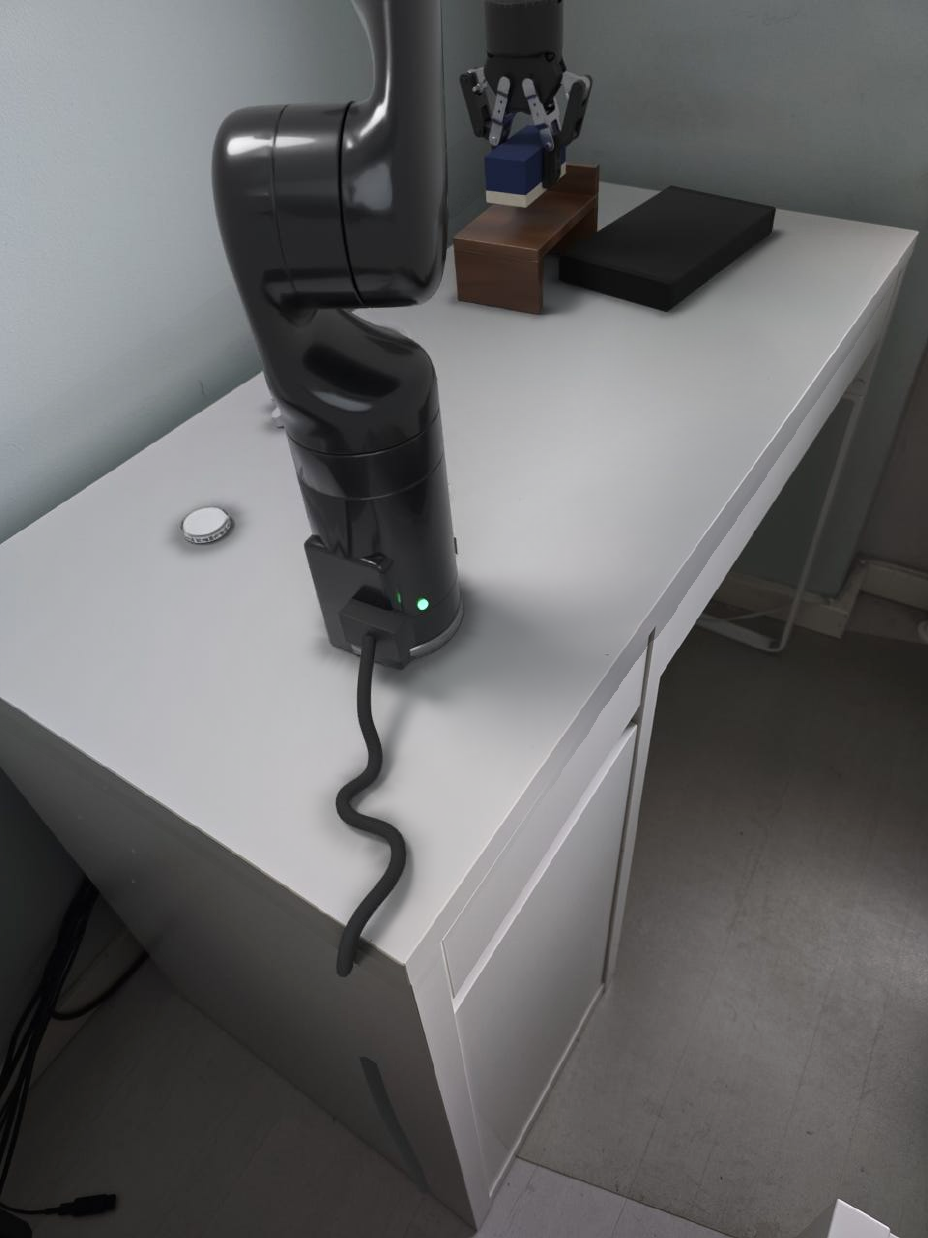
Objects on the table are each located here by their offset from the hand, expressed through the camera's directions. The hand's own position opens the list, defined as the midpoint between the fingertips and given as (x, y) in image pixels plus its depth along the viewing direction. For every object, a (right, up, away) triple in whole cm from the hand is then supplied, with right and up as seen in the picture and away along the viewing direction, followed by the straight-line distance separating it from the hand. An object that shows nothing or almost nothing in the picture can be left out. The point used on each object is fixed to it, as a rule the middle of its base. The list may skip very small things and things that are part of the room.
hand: (526, 182), depth 93 cm
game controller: (-20, -25, -8) cm, 33 cm away
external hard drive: (+17, -5, +8) cm, 19 cm away
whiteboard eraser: (0, 0, 0) cm, 1 cm away
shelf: (+1, -7, +7) cm, 10 cm away
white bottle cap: (-28, -39, -21) cm, 52 cm away
